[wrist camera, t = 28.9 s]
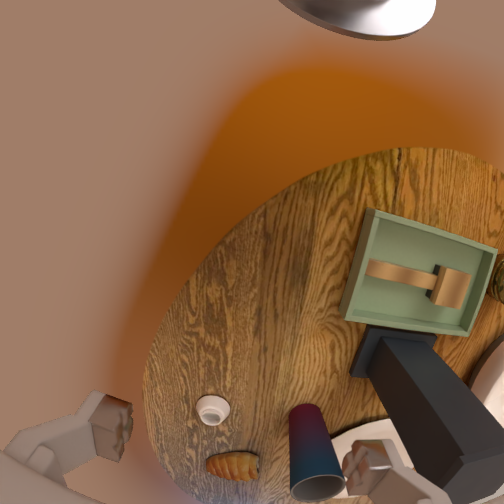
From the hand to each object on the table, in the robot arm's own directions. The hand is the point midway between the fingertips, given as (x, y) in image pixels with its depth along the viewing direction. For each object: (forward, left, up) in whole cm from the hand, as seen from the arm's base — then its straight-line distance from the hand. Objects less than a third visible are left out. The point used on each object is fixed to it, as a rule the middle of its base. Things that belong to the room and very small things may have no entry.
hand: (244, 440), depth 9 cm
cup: (+23, +13, -29) cm, 39 cm away
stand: (+10, +23, -29) cm, 38 cm away
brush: (-2, +21, -28) cm, 35 cm away
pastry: (+37, +5, -29) cm, 47 cm away
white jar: (+24, -1, -29) cm, 38 cm away
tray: (-2, +23, -29) cm, 37 cm away
